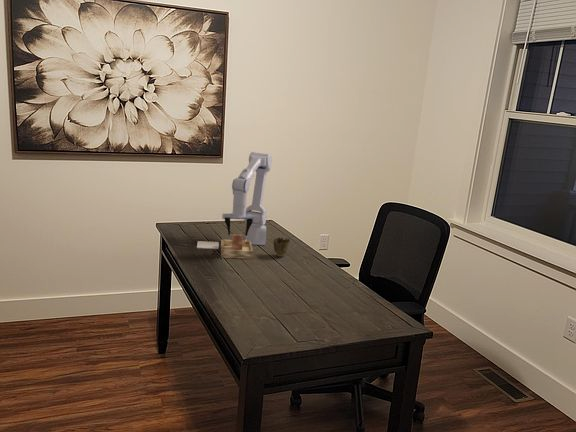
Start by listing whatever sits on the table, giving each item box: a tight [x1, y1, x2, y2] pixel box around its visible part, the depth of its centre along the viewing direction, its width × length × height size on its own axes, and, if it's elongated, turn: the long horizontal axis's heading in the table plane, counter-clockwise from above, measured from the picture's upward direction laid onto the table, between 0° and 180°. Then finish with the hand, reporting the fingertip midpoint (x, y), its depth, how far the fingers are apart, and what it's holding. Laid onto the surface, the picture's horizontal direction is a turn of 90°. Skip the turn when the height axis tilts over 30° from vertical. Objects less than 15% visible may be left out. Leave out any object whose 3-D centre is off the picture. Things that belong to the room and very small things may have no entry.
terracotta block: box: [231, 233, 244, 250], centre depth 237 cm, size 4×4×6 cm
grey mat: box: [196, 240, 220, 250], centre depth 248 cm, size 10×10×1 cm
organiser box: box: [220, 239, 254, 260], centre depth 241 cm, size 14×16×4 cm
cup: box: [273, 237, 290, 258], centre depth 241 cm, size 8×7×8 cm
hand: (237, 234), depth 236 cm, fingers open, 7 cm apart
